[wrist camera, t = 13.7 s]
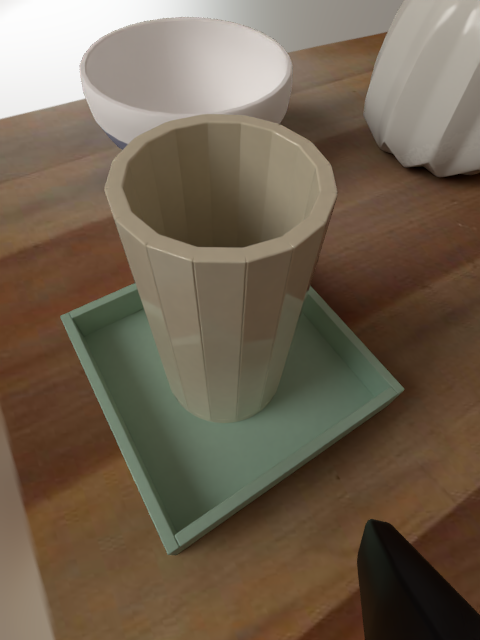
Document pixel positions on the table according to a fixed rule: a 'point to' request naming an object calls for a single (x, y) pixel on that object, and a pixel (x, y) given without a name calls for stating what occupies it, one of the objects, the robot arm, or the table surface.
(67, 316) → the serving tray
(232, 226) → the rice cup
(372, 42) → the table surface
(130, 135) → the bowl
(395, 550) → the robot arm
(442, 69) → the vase
